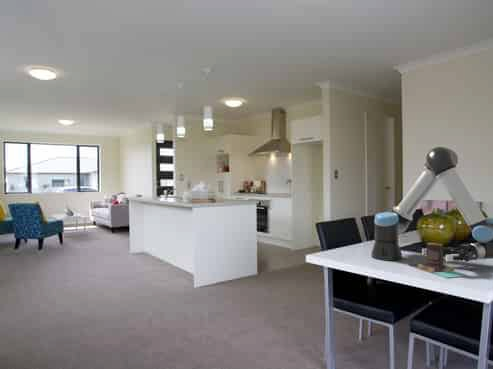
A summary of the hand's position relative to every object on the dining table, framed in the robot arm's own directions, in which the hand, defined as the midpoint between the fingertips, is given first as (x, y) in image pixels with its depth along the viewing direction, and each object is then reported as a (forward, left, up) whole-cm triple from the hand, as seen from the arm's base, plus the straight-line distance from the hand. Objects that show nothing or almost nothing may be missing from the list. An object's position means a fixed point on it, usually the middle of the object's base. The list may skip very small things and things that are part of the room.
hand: (433, 254), depth 155 cm
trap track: (-3, +1, -7) cm, 8 cm away
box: (0, +1, -7) cm, 7 cm away
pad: (+8, +1, -7) cm, 11 cm away
